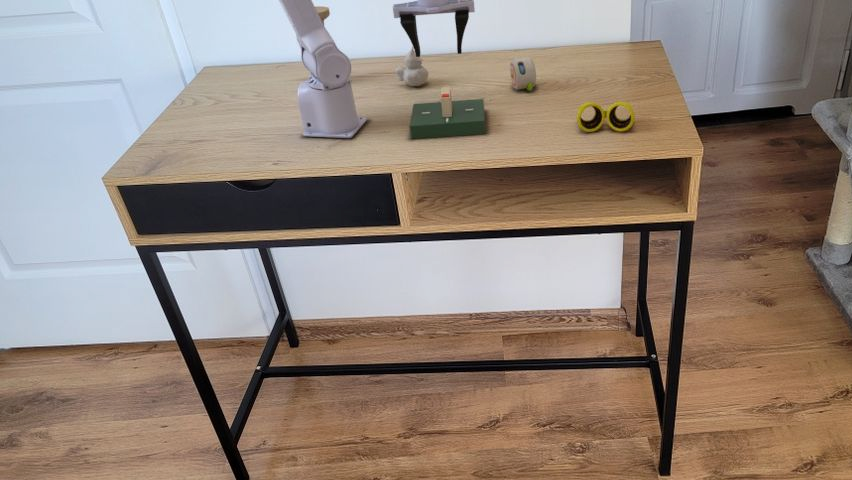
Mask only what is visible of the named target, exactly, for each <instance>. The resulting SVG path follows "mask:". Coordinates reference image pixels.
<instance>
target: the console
mask: <svg viewBox="0 0 852 480" xmlns="http://www.w3.org/2000/svg"><path fill="white" fill-rule="evenodd" d="M409 123H410V124H409V129H410V136H411V140H417V139H418V140H419V139H432V138H433V139H435V138H446V137H459V136H473V135H485V134H486V115H485V101H484V98H477V99H463V100H452V117H443V114H442V105H441V101H435V102H422V103H421V102H420V103H413V104H412V111H411V117H410V122H409Z"/></svg>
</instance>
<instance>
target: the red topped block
mask: <svg viewBox="0 0 852 480" xmlns="http://www.w3.org/2000/svg"><path fill="white" fill-rule="evenodd" d="M440 89H441V90H440V92H441V93H440V102H441V105H442V114H443V117H452V101H453V99H452V90H451V89H452V88H451V86H446V87H445V86H444V87H441V88H440Z"/></svg>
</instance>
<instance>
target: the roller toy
mask: <svg viewBox="0 0 852 480" xmlns="http://www.w3.org/2000/svg"><path fill="white" fill-rule="evenodd" d="M509 75H510V81H511V84H512V86H513V88H514V89H515V90H517V91H519V90H525V89H526V90H527V91H528V92H531V91H532V90H533V88H534V87H535V86H536V84H537V71H536V65H535V63H534V61H533V59H532V58H531V57H521V58H520V57H519V58H515V59H512V60H511V61H510V64H509Z"/></svg>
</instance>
